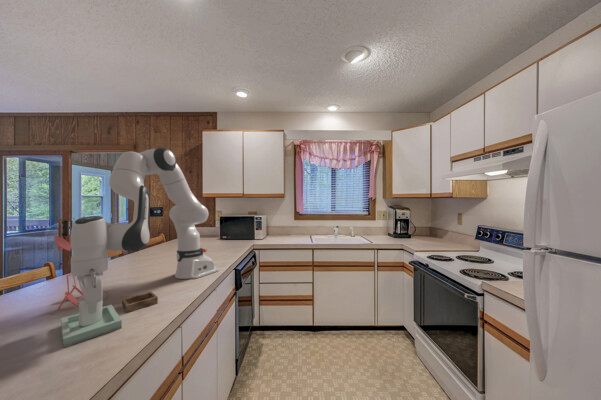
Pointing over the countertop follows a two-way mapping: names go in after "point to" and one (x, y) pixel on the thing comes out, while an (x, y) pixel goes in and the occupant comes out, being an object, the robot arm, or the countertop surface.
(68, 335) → the tray
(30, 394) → the countertop surface
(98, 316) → the eye dropper bottle
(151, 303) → the walnut rectangular frame
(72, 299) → the red leafy plant shape
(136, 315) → the countertop surface
